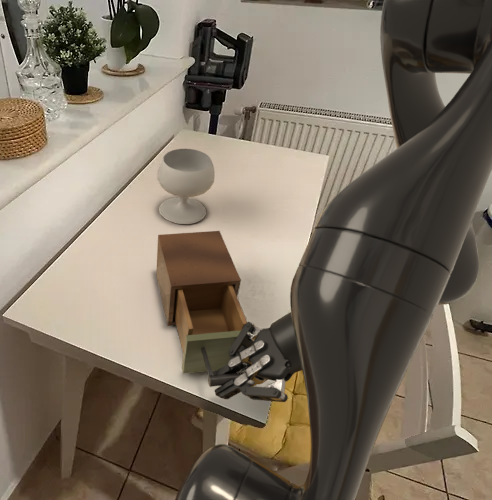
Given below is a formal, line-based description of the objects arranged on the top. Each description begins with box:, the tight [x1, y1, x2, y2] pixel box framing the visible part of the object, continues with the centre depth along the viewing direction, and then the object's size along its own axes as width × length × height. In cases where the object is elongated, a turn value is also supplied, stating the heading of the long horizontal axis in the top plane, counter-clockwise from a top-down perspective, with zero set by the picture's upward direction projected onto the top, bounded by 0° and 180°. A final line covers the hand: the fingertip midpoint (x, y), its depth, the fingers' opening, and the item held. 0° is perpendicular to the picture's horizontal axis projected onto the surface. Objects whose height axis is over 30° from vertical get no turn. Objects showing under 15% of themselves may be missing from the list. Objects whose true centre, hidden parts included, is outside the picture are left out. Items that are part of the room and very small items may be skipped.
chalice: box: [156, 148, 216, 225], centre depth 107 cm, size 14×14×15 cm
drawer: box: [173, 285, 252, 388], centre depth 74 cm, size 20×12×9 cm, turn 7°
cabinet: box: [155, 230, 242, 327], centre depth 85 cm, size 15×13×11 cm
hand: (216, 388), depth 66 cm, fingers closed on drawer
